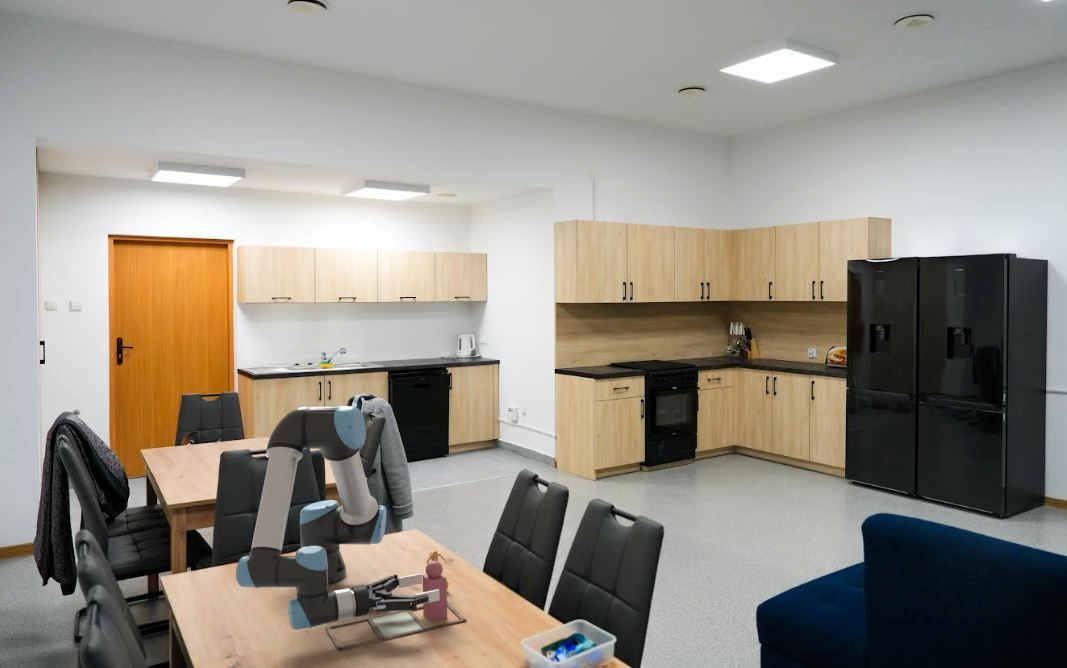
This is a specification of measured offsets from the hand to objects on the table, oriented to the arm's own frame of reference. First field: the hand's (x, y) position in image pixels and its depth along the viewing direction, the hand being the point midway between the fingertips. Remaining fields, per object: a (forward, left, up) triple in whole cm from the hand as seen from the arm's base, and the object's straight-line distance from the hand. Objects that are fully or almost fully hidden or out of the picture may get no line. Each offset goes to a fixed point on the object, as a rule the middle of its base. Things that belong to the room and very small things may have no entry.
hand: (430, 586), depth 201 cm
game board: (0, -10, -8) cm, 13 cm away
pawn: (0, +1, -9) cm, 9 cm away
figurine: (-16, +8, -9) cm, 20 cm away
